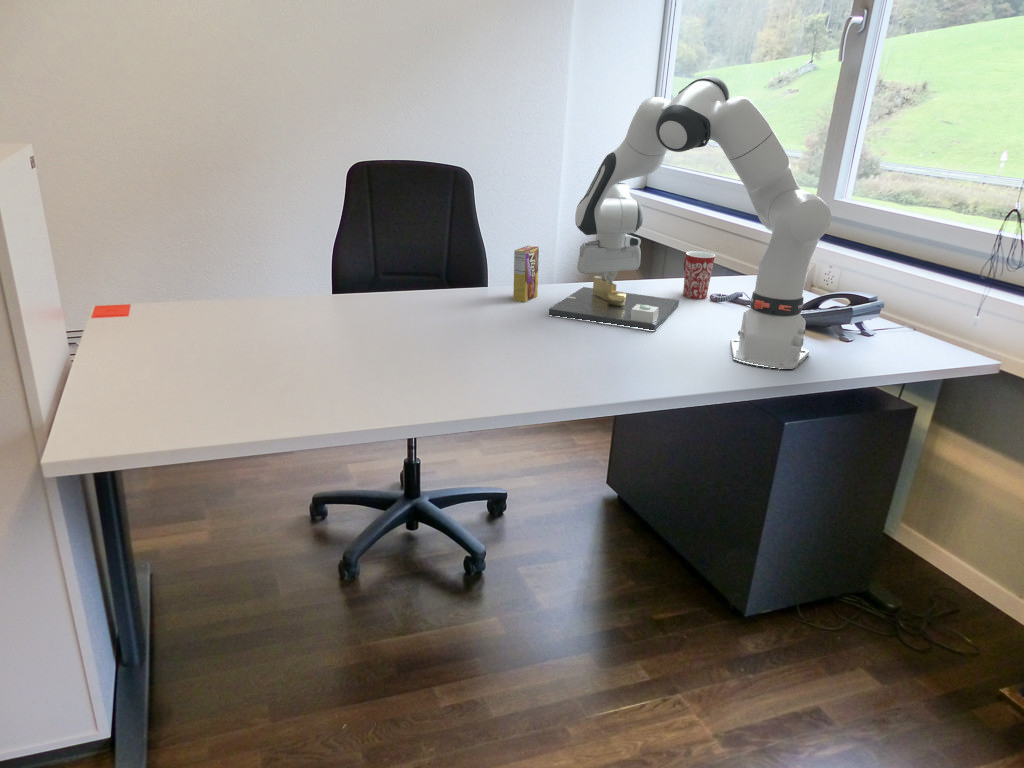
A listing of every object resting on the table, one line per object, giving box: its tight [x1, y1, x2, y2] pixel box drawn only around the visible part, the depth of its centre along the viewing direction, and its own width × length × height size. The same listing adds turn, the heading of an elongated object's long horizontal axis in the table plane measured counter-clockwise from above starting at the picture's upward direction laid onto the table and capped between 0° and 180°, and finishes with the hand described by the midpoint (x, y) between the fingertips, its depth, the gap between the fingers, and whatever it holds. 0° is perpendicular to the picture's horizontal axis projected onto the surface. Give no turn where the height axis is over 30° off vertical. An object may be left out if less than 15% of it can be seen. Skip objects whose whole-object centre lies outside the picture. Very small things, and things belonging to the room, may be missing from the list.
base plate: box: [548, 286, 680, 331], centre depth 213 cm, size 30×30×6 cm
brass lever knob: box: [592, 275, 627, 306], centre depth 216 cm, size 14×5×5 cm, turn 25°
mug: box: [682, 250, 716, 300], centre depth 234 cm, size 13×9×14 cm
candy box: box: [512, 245, 540, 303], centre depth 221 cm, size 9×4×15 cm, turn 152°
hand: (607, 286), depth 221 cm, fingers closed
